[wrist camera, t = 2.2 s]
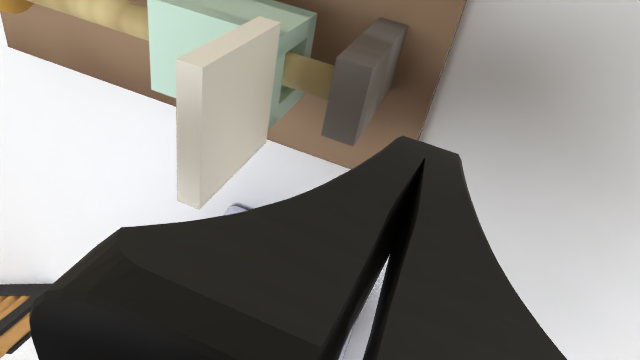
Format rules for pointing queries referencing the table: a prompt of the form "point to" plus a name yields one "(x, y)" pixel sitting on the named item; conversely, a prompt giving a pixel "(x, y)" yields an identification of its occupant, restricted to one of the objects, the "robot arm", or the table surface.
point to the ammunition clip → (16, 314)
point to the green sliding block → (223, 80)
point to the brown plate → (299, 71)
